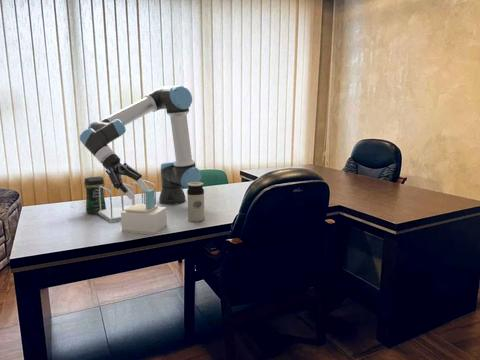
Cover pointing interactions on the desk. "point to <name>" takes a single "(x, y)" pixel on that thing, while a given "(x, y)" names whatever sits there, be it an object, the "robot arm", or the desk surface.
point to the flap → (145, 207)
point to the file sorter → (115, 213)
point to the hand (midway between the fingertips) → (140, 193)
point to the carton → (144, 221)
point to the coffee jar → (94, 194)
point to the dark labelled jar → (195, 201)
